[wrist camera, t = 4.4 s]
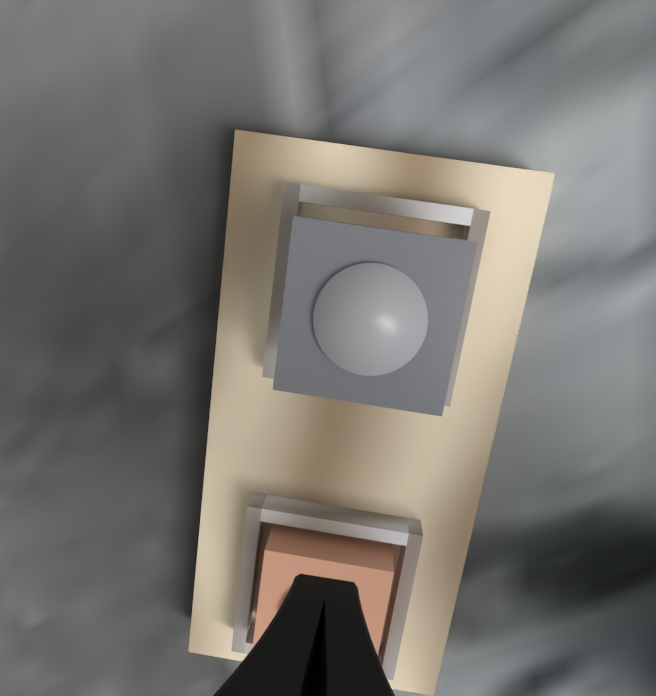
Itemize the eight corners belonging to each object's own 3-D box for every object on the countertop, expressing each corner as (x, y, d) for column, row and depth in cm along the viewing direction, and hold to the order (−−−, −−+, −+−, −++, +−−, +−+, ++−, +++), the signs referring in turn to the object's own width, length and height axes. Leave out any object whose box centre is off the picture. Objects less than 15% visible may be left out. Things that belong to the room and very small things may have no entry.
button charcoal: (463, 239, 14) (478, 243, 12) (433, 391, 16) (442, 418, 13) (303, 216, 15) (292, 216, 13) (284, 368, 16) (271, 391, 14)
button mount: (540, 177, 18) (567, 170, 15) (429, 665, 23) (436, 719, 20) (245, 136, 18) (226, 124, 16) (199, 624, 23) (179, 672, 21)
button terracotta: (391, 537, 20) (394, 575, 18) (373, 636, 21) (373, 682, 19) (274, 517, 20) (263, 552, 18) (262, 616, 21) (250, 660, 19)
